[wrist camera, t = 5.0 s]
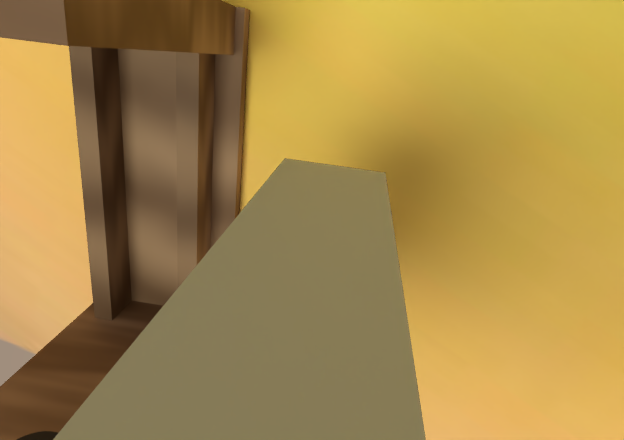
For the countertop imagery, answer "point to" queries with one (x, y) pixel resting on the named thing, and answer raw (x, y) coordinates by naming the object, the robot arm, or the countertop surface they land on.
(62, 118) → the countertop surface
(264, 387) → the door panel
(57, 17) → the brown wooden stand
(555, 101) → the countertop surface
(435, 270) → the countertop surface
